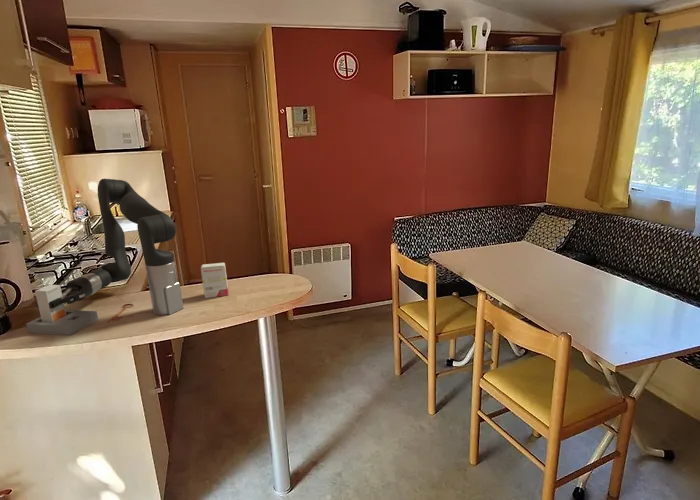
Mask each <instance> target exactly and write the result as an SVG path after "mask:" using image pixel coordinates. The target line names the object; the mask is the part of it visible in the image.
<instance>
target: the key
mask: <svg viewBox="0 0 700 500" xmlns="http://www.w3.org/2000/svg"><path fill="white" fill-rule="evenodd" d="M134 306H135V305H134V304H133V303H126V304H123V305H122V309H121V310H120V311H118V312H117V313H116V314H115V315H113V316H112V317H111V318H110V319H108V320H107V323H111V322H118V321H120V320H121V319H123V318H124V316H121V314H122V313H123V312H124V311H126V310H127V309H131V308H133V307H134Z"/></svg>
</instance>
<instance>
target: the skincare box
mask: <svg viewBox="0 0 700 500" xmlns="http://www.w3.org/2000/svg"><path fill="white" fill-rule="evenodd" d="M61 289H62V288H61V285H59V284H48V285H46V286H43V287H41V288H39V289H36V290H34V294H35V297H36V302H38V307H39V308H38V310H39V315H40V317H41V319H42V322H47V323H53V322H55V321H57V320H59V319H61V318H63V317H65V316H67V315H66V310H67V309H66V306H65V304H64V305H59V306H57V307H55V308H53V309H51V308H50V307H49V302H51V301H53V300H55V299H57V298H60V297H61V296H62V292H61Z"/></svg>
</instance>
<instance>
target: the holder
mask: <svg viewBox="0 0 700 500" xmlns="http://www.w3.org/2000/svg"><path fill="white" fill-rule="evenodd" d="M65 310H66V315H67V316H65V317H63V318H61V319H59V320H57V321H55V322H53V323H47V322H42V319H41V316H39V317H37V318H35V319H33V320H30V321H29V322H26V323H25V326H26V330H27V333H28V334H29V333H32V334H43V335H44V334H45V335H46V334H48V335H58V336H59V335H61V336H62V335H64V336H72V335H74V334H76V332H79V331H80V330H83V329H84V328H86V327H88V326H89V325H92V324H93V323H95V322H96V321H98V320H99V317H98V311H96V310H84V309H83V310H81V309H80V310H79V309H65Z"/></svg>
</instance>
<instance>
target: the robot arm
mask: <svg viewBox="0 0 700 500" xmlns="http://www.w3.org/2000/svg"><path fill="white" fill-rule="evenodd" d="M97 199H98V204H99V211H100V215H101V221H102V226H103V233H104V235H103V236H104V252H105V255H106V256H107V257H111V258H113V259H114V262H108V263H105V264H102V265H101V266H100V267H99V268H97V269H96V270H93V271H91V272H89V273H85V274H82V275H81V276H78V277H76V278H74V279H73V278H72V279H71V280H69V281H68V282H66V284H65V286H64V287H62V288H61V292H62V296H61V297H60V298H57V299H55V300H53V301H51V302H49V307H50V308H51V309H53V308H55V307H57V306H59V305H64V306H65V305H66V304H67V305H71V304H74V303H77V302H80V301H82V300H85V299H87V298H88V297H90V296H92V295H94V294H96V293H97V292H99V291H100V290H102V289H104V288H107V287H108V286H109V285H110V284H111V282H116V281H125V280H128V279H129V278H130V276H131V273H132V267H131V264H130V261H129V257H128V255H127V251H126V237H125V232H124V230H123V228H122V226H121V225H120V223H119V222H118V220H117V219H116V218H115V216H114V214H113V212H112V210H111V206H110V205H111V204H119V211H120V212H121V214H122V215H123V216H124V217H125V218H126V219H127V220H128V221H129V222H130V223H133V224H136V225H137V232H138V237H139V242H140V245H141V246H140V247H141V250H142V256H143V260H144V265H145V270H146V277H147V282H148V289H149V295H150V296H149V297H150V300H151V306H152V312H153V314H155V315H162V316H163V315H172V314H174V313H176V312H178V311H180V310H183V309H184V304H183V296H182V288H181V283H180V282H178V276H177V270H176V268H177V267H176V262H175V256H174V253H173V252H172V251H169V250H163V249H158V248H156V246H155V244H159V243H161V244H162V243H165V242H169V241H171V240H173V239H174V238H175V236H176V234H177V228H176V224H175V222H174V221H173V218H171V216H169V215H168V214H166V213H165V212H163V211H161V210H160V209H158V208H156V207H155V206H153V205H152V204H150V202H148V200H146V199H145V198H144V197H143V196H141V195H140V194H138V192H136V190H134V188H133V187H132V185H130V183H129V182H127V181H126V180H124V179H114V178H101V179H100V180H99V181H98V184H97ZM110 203H111V204H110ZM35 304H36V307H37V308H38V309H39V307H38V302H37V301H36V302H35Z"/></svg>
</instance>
